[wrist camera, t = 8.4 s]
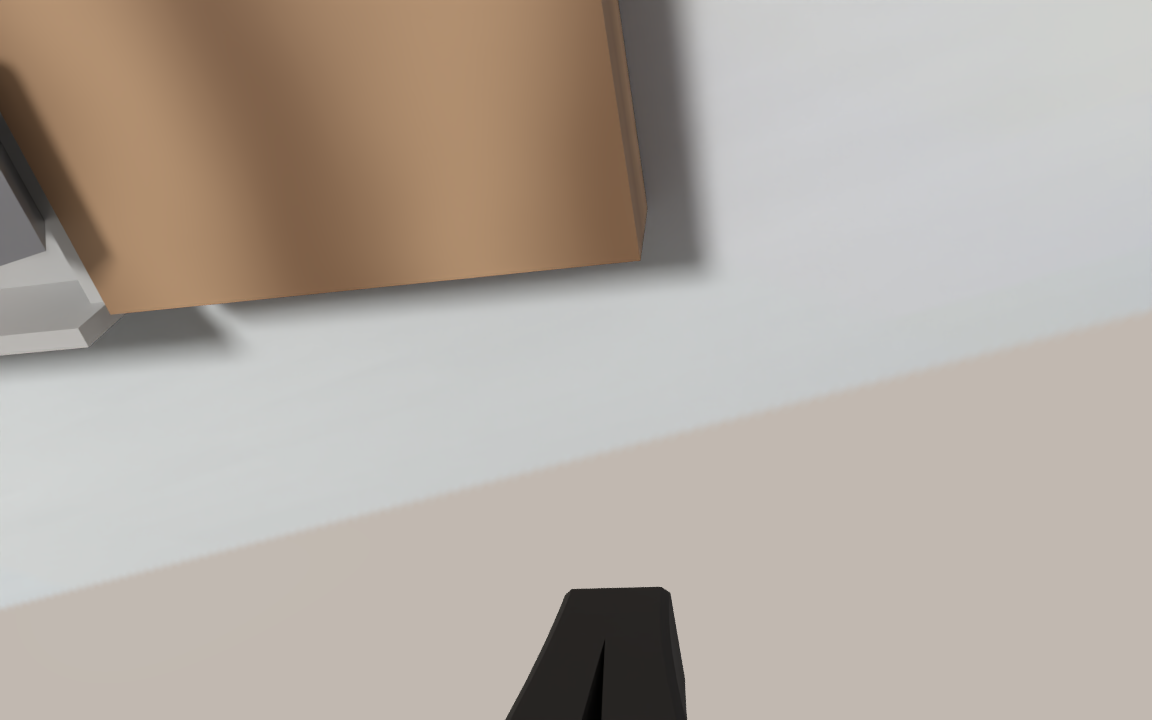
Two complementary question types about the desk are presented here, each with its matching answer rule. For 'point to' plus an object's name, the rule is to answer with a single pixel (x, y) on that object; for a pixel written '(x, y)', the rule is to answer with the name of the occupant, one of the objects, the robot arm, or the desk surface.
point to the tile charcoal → (18, 216)
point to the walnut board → (324, 141)
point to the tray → (47, 284)
